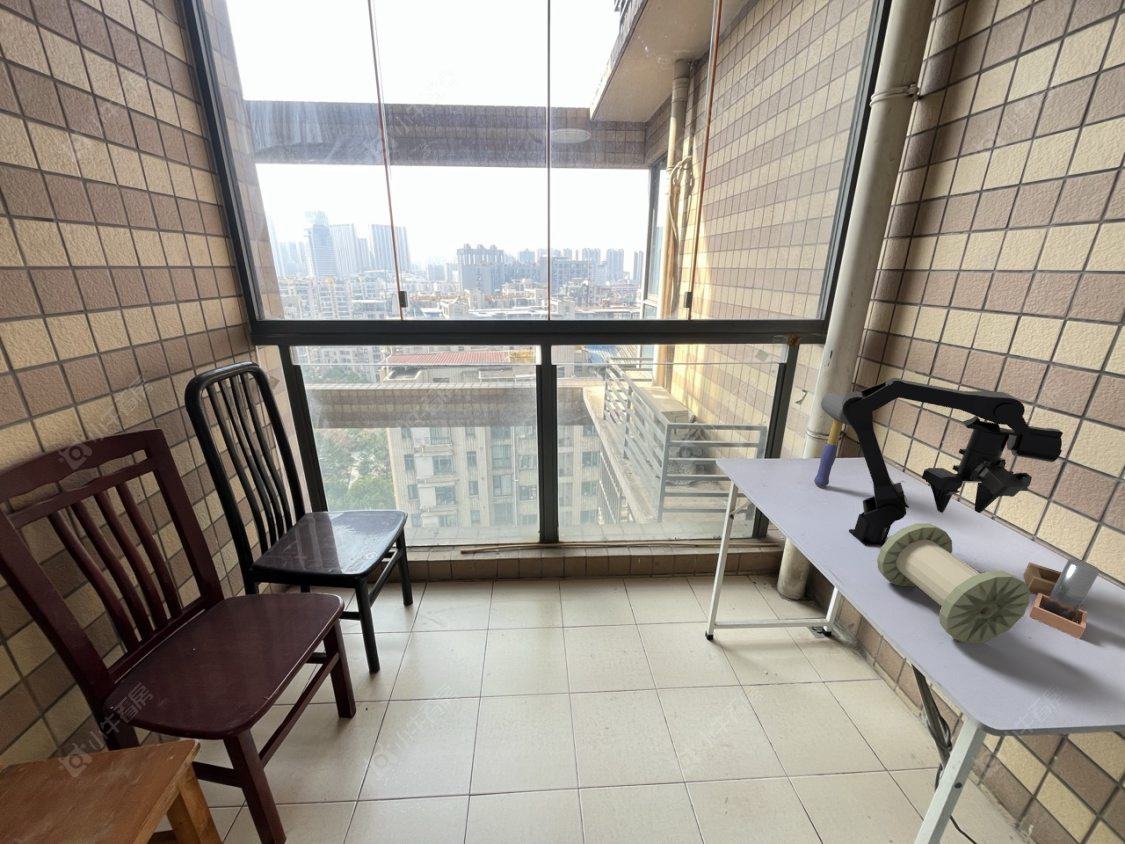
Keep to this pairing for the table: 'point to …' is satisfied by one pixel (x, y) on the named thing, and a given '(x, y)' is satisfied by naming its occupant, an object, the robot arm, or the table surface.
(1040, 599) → the socket block
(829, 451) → the rubber mallet
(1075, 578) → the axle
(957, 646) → the table surface
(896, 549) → the spool
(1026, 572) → the wooden square frame
